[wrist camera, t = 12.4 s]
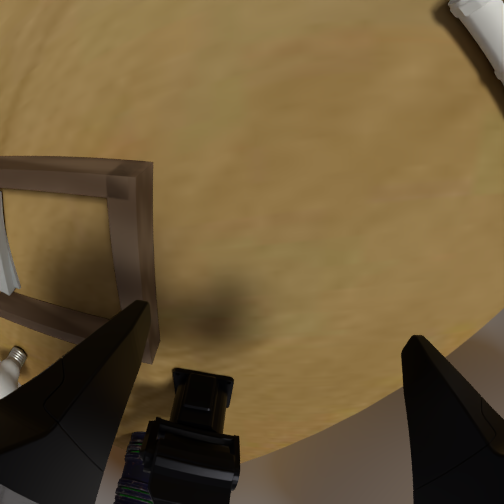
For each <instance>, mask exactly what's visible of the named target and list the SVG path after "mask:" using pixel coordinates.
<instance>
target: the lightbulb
mask: <svg viewBox="0 0 504 504" xmlns="http://www.w3.org/2000/svg"><path fill="white" fill-rule="evenodd" d="M26 359H27V358H26V355H25V353H24V351H23V350H22V349H20V348H16V347H13V349H12V351H11V352H10V353H9V355H8V357H7V358H6V359H4V360H3V361H2V362H1V363H0V399H2V398H3V397H5V396H7V395H8V394H10V393H11V392H13V391H14V390H16V389H18V378H19V375H20V369H21V366H23V364H24V362H25V360H26Z"/></svg>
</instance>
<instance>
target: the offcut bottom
mask: <svg viewBox="0 0 504 504" xmlns="http://www.w3.org/2000/svg"><path fill="white" fill-rule="evenodd" d="M4 227H5V225H4ZM5 235H6V243H7V249H8V256H9V261H10V267H11V272H12V277H13V282H14V287H15V288H18V289H20V288H21V285H20V282H19V279H18V276H17V272H16V269H15V266H14V262H13V258H12V255H11V251H10V247H9V243H8V239H7V234H6V230H5Z"/></svg>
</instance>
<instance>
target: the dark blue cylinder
mask: <svg viewBox="0 0 504 504" xmlns="http://www.w3.org/2000/svg"><path fill="white" fill-rule="evenodd" d="M145 434H146V432H134V433H132V436H131V441H130V443H129V445H128V447H127V451H126V452H127V453H126V455H125V462H126V463H125V466H124V470H123V474H122V477H121V479H119V482H118V488H117V489H116V492H115V493H116V494H117V495H116V496H115V502H114V504H153V502H152V499H151V497H150V494H149V492H148V481H149V476H150V473H147V472H143V467H144V465H142V462H143V461H142V460H141V458H140V457H139V452H140V449H141V446H142V443H143V440H144V437H145ZM158 439H160V438H158Z"/></svg>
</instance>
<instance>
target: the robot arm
mask: <svg viewBox="0 0 504 504" xmlns="http://www.w3.org/2000/svg"><path fill="white" fill-rule="evenodd" d="M150 326H151V312H150V304H149V302H148V301H144V300H139V299H137V300H135V301H134V302H132V303H131V304H130V305H128V306H127V307H126V308H124V309H123V310H122V311H120V312H119V313H118V314H117V315H115V316H114V317H113V318H111V319H110V320H109V321H107V322H106V323H105V324H104V325H102V326H101V327H100V328H98V329H97V330H96V331H94V332H93V333H92V334H91V335H89V336H88V337H87V338H85V339H84V340H83V341H82V342H80V343H79V344H78V345H77V346H75V347H74V348H73V349H71V350H70V351H69V352H68V353H66V354H65V355H64V356H63V357H62V358H63V359H62V358H60V359H59V360H57V361H56V362H55V363H54V364H52V365H51V366H50V367H48V368H47V369H46V370H44V371H43V372H42V373H40V374H39V375H37V376H36V377H34V378H33V379H32V380H30V381H28V382H27V383H25V384H24V385H22V386H21V387H19V388H18V389H16V390H14V391H13V392H11V393H10V394H8V395H7V396H5V397H3V398H2V399H0V504H95V501H96V497H97V494H98V490H99V487H100V483H101V480H102V476H103V472H104V470H105V467H106V463H107V460H108V457H109V454H110V451H111V448H112V445H113V442H114V439H115V436H116V433H117V430H118V427H119V424H120V421H121V418H122V415H123V412H124V409H125V407H126V404H127V401H128V398H129V395H130V393H131V390H132V387H133V385H134V382H135V379H136V376H137V374H138V371H139V368H140V365H141V361H142V358H143V354H144V350H145V346H146V342H147V338H148V334H149V330H150ZM401 359H402V373H403V389H404V398H405V405H406V412H407V420H408V428H409V437H410V448H411V459H412V473H413V490H414V491H413V499H414V504H504V419H503V418H502V417H501V416H500V415H499V414H498V413H497V412H496V411H495V410H494V409H492V407H491V406H490V405H489V404H488V403H487V402H486V401H485V400H484V398H483V397H481V395H480V394H479V393H478V392H477V391H476V390H475V389H474V388H473V387H472V386H471V384H470V383H469V382H468V381H467V380H466V379H465V378H464V377H463V376H462V375H461V374H460V373H459V372H458V371H457V370H456V369H455V368H454V366H453V365H452V364H451V363H450V362H448V360H447V359H446V358H445V357H444V356H443V355H442V354H441V353H440V352H439V351H438V350H437V349H436V348H435V347H434V346H433V345H432V344H431V343H430V342H429V341H428V340H427V339H426V338H425V337H424V336H422V335H413V336H411V338H410V339H409V341H408V342H407V344H406V345H405V347H404V348H403V350H402V353H401ZM173 377H174V387H175V399H174V403H173V407H172V411H171V415H170V420H169V421H167V420H164V419H162V418H160V417H156V420H155V421H149V423H148V427H147V431H146V434H145V437H144V440H143V443H142V446H141V449H140V452H139V457H140V458H141V460H142V461H143V462H142V465H144V467H143V472H147V473H150V476H149V481H148V492H149V494H150V497H151V499H152V502H153V504H229V502H230V493H231V491H233V490H234V489H235V488H236V486H237V483H238V479H239V474H240V445H239V436H236V435H234V436H231V435H226V434H223V428H224V420H225V412H226V408H228V407H229V405H230V399H231V394H232V389H233V384H234V379H233V378H230V377H223V376H217V375H211V374H205V373H199V372H193V371H188V370H183V369H174V372H173ZM158 438H160V439H158Z"/></svg>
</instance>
